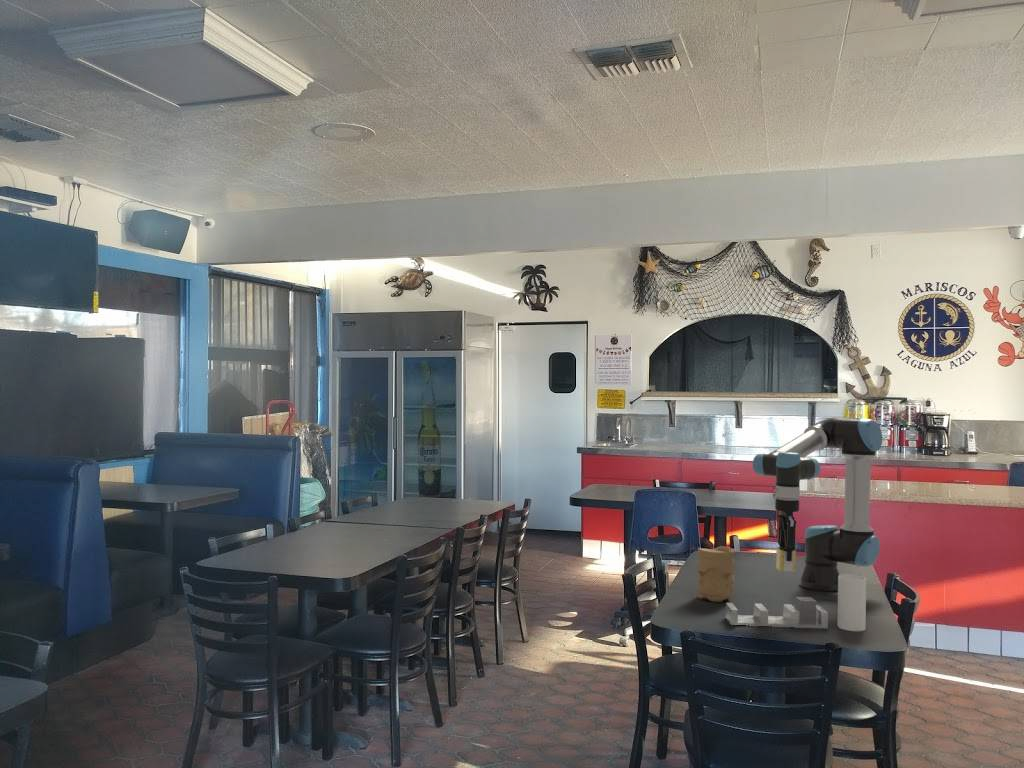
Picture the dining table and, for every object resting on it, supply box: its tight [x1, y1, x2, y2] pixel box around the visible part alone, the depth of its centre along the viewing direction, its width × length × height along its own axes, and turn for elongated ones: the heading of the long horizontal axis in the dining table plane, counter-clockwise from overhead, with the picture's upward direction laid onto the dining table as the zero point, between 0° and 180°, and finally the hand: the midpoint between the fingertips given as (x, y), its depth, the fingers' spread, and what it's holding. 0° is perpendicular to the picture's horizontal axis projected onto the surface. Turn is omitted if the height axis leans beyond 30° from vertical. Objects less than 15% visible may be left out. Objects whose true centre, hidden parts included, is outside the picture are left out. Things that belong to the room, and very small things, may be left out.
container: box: [697, 545, 735, 603], centre depth 301 cm, size 13×13×18 cm
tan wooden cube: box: [775, 546, 797, 573], centre depth 281 cm, size 5×5×7 cm
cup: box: [837, 573, 867, 632], centre depth 268 cm, size 8×8×16 cm
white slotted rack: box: [725, 596, 829, 630], centre depth 272 cm, size 30×9×8 cm, turn 87°
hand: (785, 568), depth 281 cm, fingers closed on tan wooden cube, 5 cm apart
